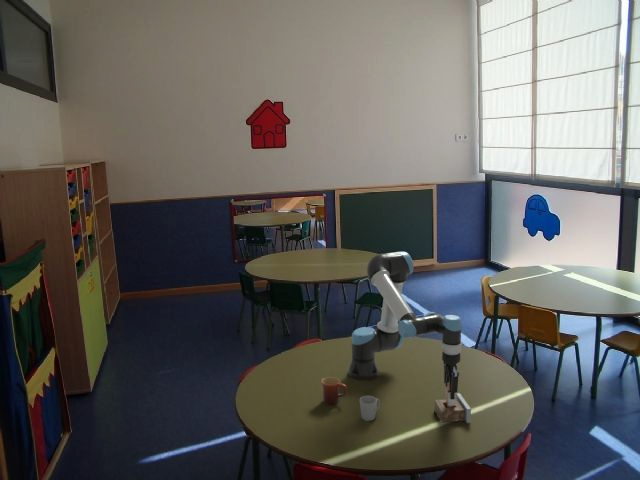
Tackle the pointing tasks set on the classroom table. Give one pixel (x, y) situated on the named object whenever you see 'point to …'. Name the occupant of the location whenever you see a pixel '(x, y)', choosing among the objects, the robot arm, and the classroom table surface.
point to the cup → (369, 407)
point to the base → (465, 406)
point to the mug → (332, 390)
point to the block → (449, 411)
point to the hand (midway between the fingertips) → (450, 403)
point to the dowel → (447, 396)
